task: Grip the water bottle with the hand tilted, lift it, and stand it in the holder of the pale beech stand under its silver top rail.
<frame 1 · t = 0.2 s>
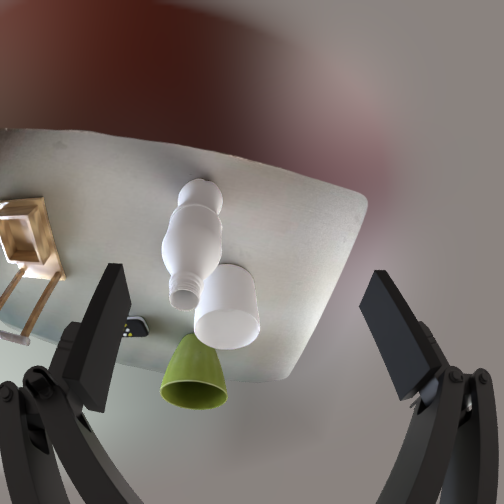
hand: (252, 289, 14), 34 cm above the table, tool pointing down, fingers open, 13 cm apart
rack: (27, 228, 46), on the table
flower pot: (196, 340, 68), on the table
water bottle: (201, 193, 47), on the table
remote control: (124, 323, 63), on the table
cup: (226, 285, 58), on the table
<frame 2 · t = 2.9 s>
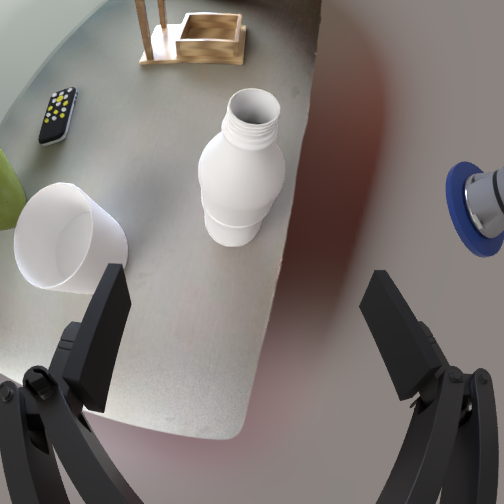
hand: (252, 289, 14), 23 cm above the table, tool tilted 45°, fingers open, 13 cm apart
rack: (210, 43, 45), on the table
flower pot: (13, 208, 35), on the table
water bottle: (231, 225, 39), on the table
remote control: (60, 118, 39), on the table
cup: (92, 253, 36), on the table
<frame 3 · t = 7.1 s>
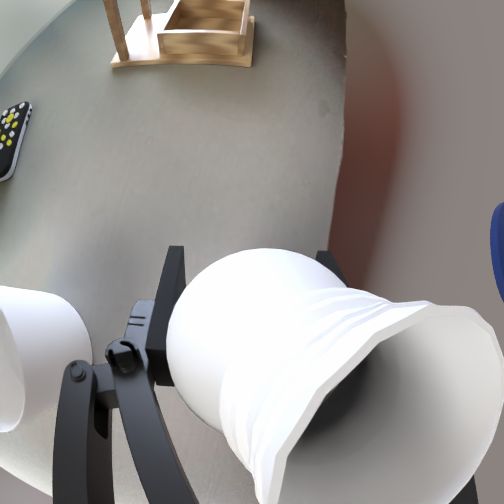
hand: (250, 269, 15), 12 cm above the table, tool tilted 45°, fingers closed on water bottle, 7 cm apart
rack: (206, 37, 33), on the table
water bottle: (235, 321, 26), on the table, touching gripper
remote control: (10, 144, 26), on the table
cup: (49, 346, 23), on the table
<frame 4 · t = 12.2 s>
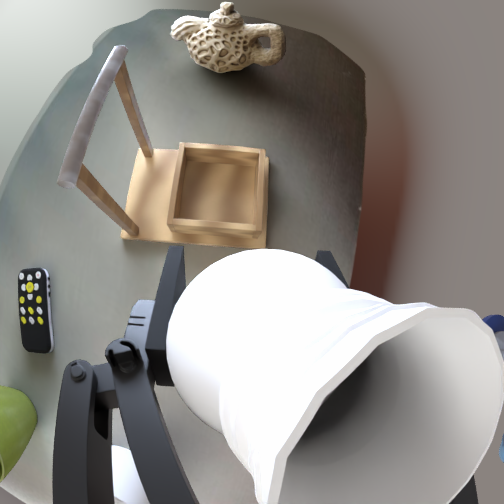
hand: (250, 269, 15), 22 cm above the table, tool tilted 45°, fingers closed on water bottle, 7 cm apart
rack: (217, 197, 40), on the table
flower pot: (22, 408, 29), on the table
water bottle: (235, 321, 26), point 11 cm above the table, touching gripper
remote control: (38, 310, 33), on the table
teapot: (223, 66, 45), on the table
cup: (123, 473, 30), on the table
when the fingers open (13 cm above the table, at t = 17.4 s): water bottle stays where it is, resting on rack.
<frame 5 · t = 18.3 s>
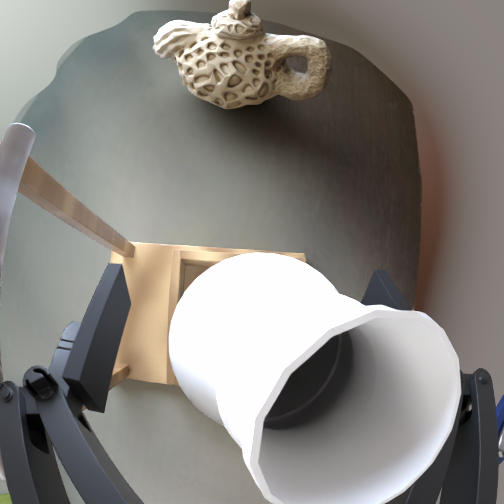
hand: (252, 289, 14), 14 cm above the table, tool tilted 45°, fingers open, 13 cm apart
rack: (233, 319, 28), on the table
water bottle: (233, 320, 27), point 1 cm above the table, touching rack
teapot: (231, 94, 33), on the table
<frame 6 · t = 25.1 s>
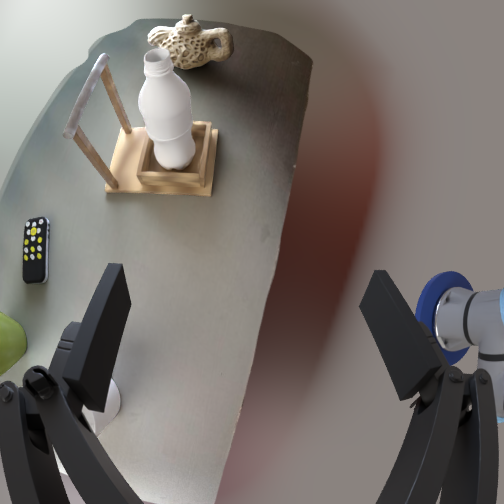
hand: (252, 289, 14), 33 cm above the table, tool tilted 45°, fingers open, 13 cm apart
rack: (177, 160, 49), on the table
flower pot: (15, 338, 39), on the table
water bottle: (176, 158, 49), point 1 cm above the table, touching rack
remote control: (38, 251, 43), on the table
teapot: (190, 64, 55), on the table
cup: (92, 393, 40), on the table
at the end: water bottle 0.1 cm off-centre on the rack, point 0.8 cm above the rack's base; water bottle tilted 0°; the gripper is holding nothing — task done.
